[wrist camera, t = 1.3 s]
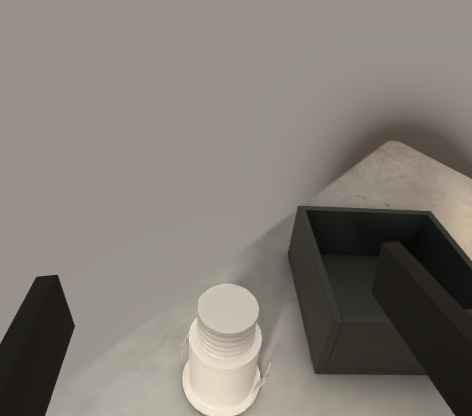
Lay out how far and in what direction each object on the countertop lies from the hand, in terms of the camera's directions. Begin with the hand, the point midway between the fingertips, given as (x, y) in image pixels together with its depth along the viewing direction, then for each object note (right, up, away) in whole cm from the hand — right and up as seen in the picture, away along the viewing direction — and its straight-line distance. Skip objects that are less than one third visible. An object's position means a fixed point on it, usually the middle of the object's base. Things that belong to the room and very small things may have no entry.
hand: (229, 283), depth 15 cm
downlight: (-1, -13, +18) cm, 22 cm away
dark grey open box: (+16, -8, +26) cm, 31 cm away
